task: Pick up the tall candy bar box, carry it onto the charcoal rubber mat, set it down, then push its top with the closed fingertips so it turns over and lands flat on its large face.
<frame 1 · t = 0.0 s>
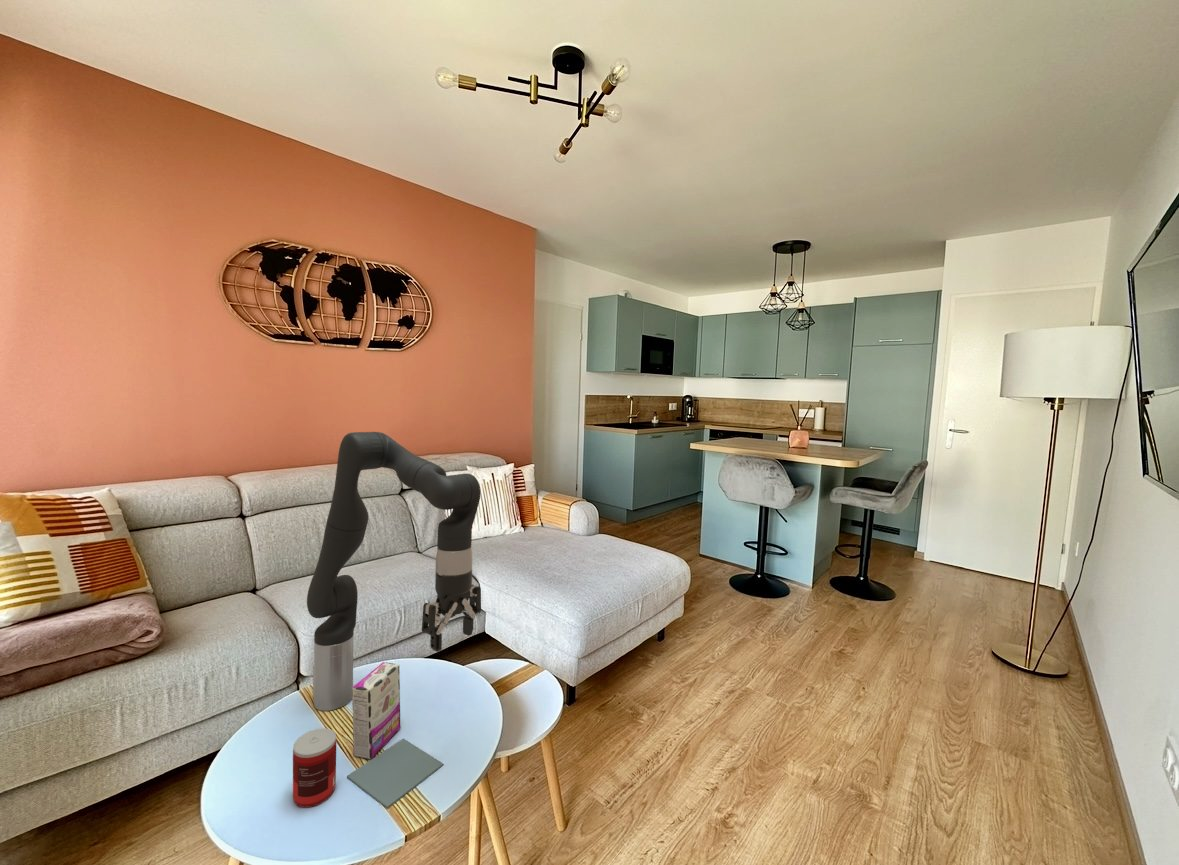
hand: (452, 642, 101), 29 cm above the table, fingers open, 8 cm apart
canned food: (314, 793, 97), on the table
candy bar box: (377, 743, 112), on the table
mat: (396, 771, 103), on the table
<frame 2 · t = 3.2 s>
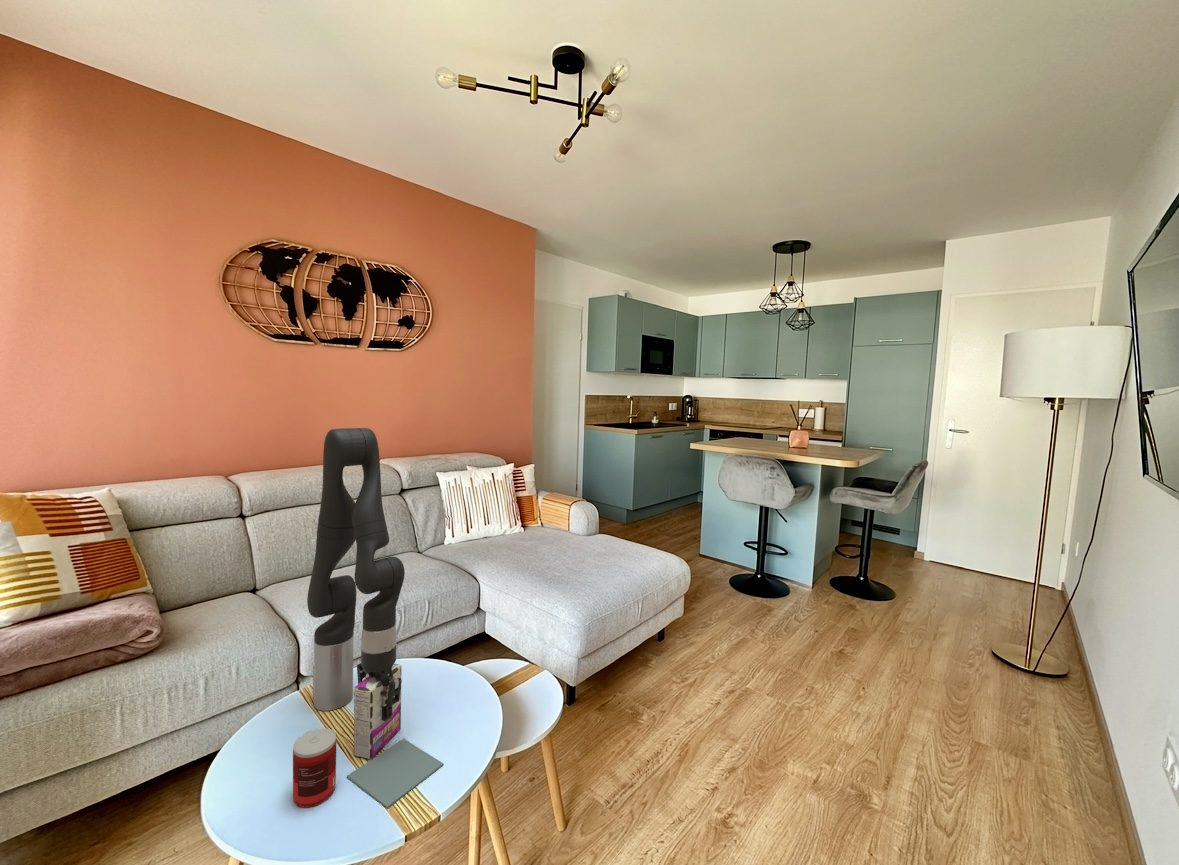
hand: (378, 713, 111), 7 cm above the table, fingers closed on candy bar box, 6 cm apart
candy bar box: (377, 743, 112), on the table, touching gripper
everything else where it was.
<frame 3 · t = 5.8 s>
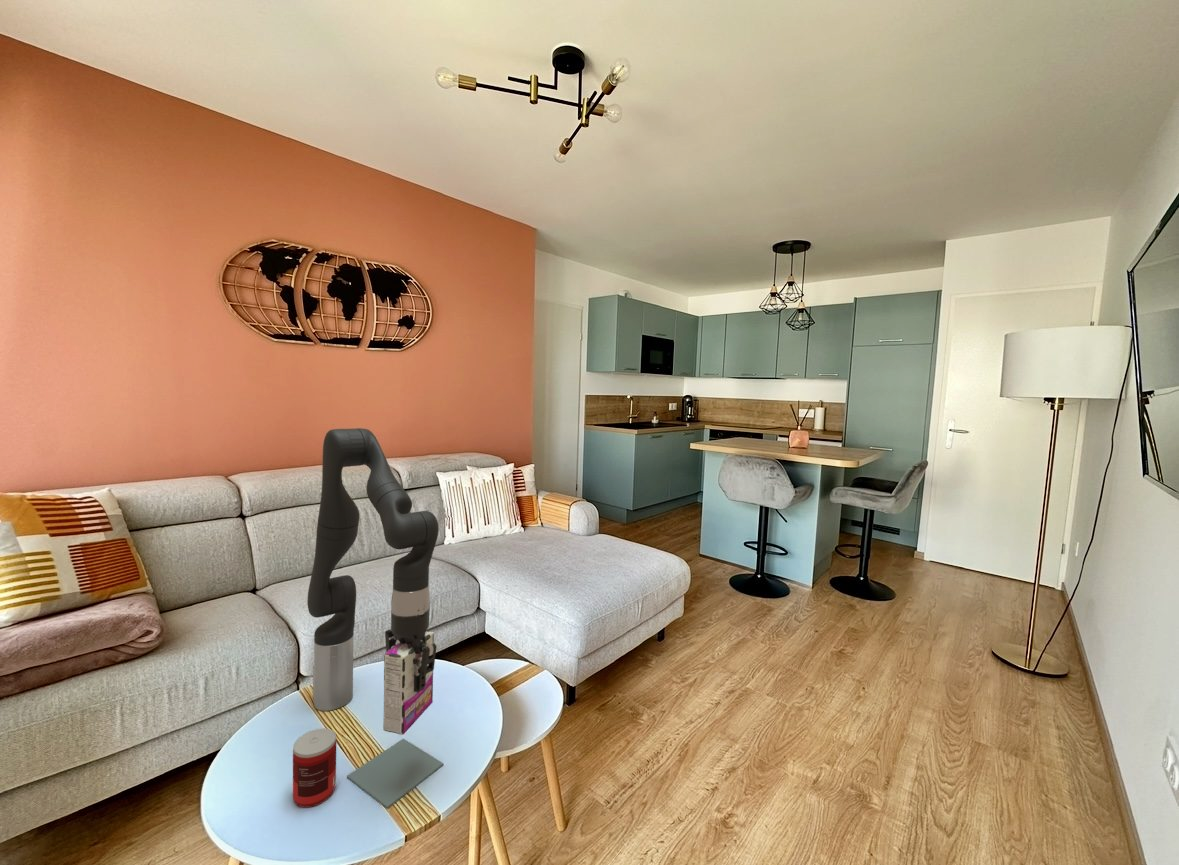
hand: (409, 684, 100), 21 cm above the table, fingers closed on candy bar box, 6 cm apart
candy bar box: (408, 717, 100), point 13 cm above the table, touching gripper
everything else where it was.
when the fingers open (8 cm above the table, at t = 8.6 s): candy bar box stays where it is, resting on mat.
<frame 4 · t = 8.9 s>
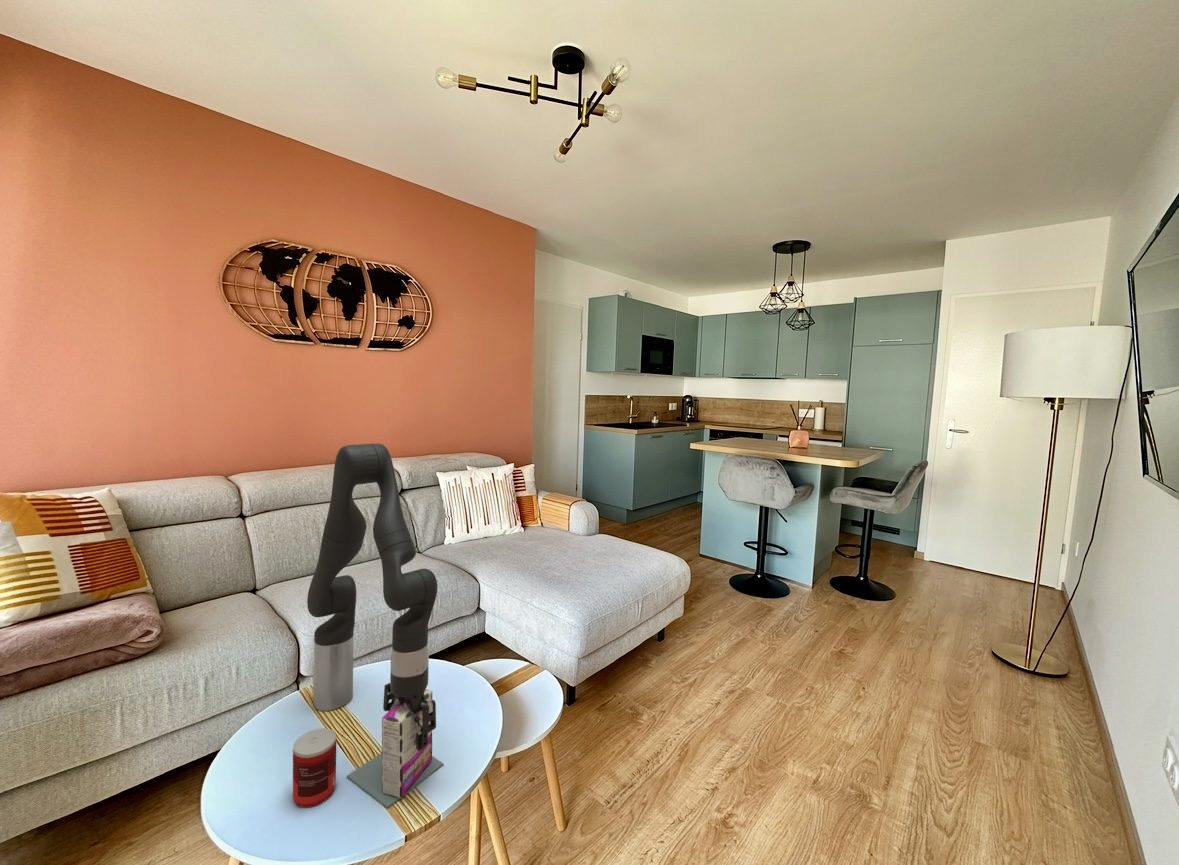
hand: (408, 739, 100), 9 cm above the table, fingers open, 8 cm apart
candy bar box: (407, 777, 101), resting on mat
everything else where it was.
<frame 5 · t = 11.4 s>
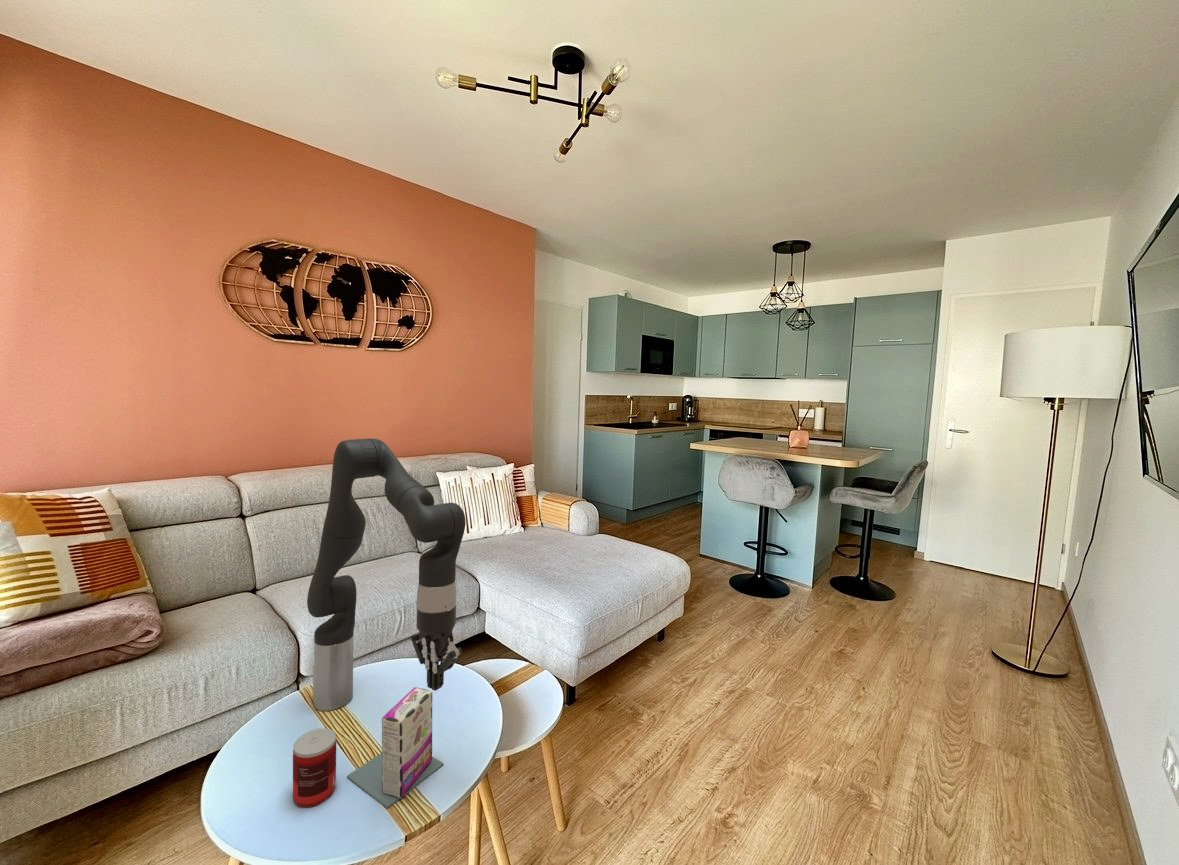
hand: (435, 687, 96), 23 cm above the table, fingers closed
nothing on the table moved.
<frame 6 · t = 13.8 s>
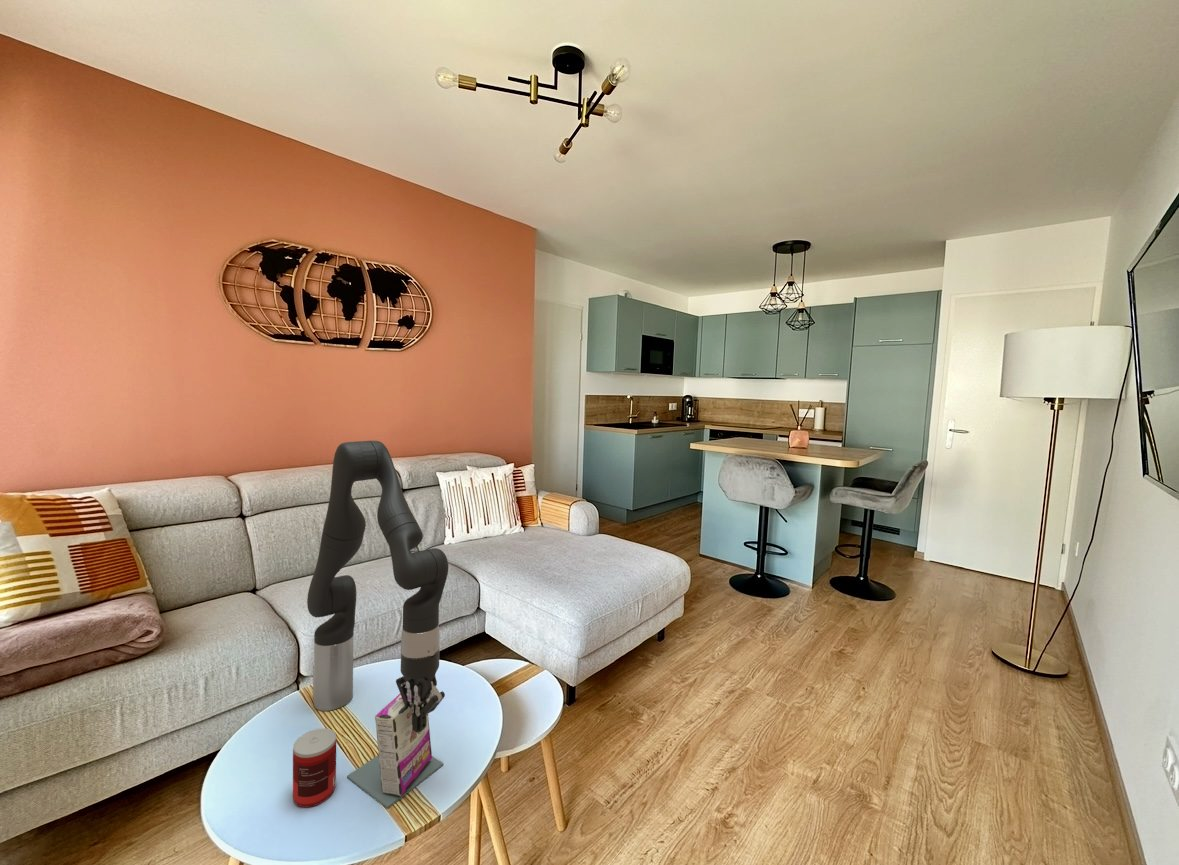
hand: (419, 729, 98), 13 cm above the table, fingers closed
candy bar box: (407, 776, 101), resting on mat, touching gripper, hand
everything else where it was.
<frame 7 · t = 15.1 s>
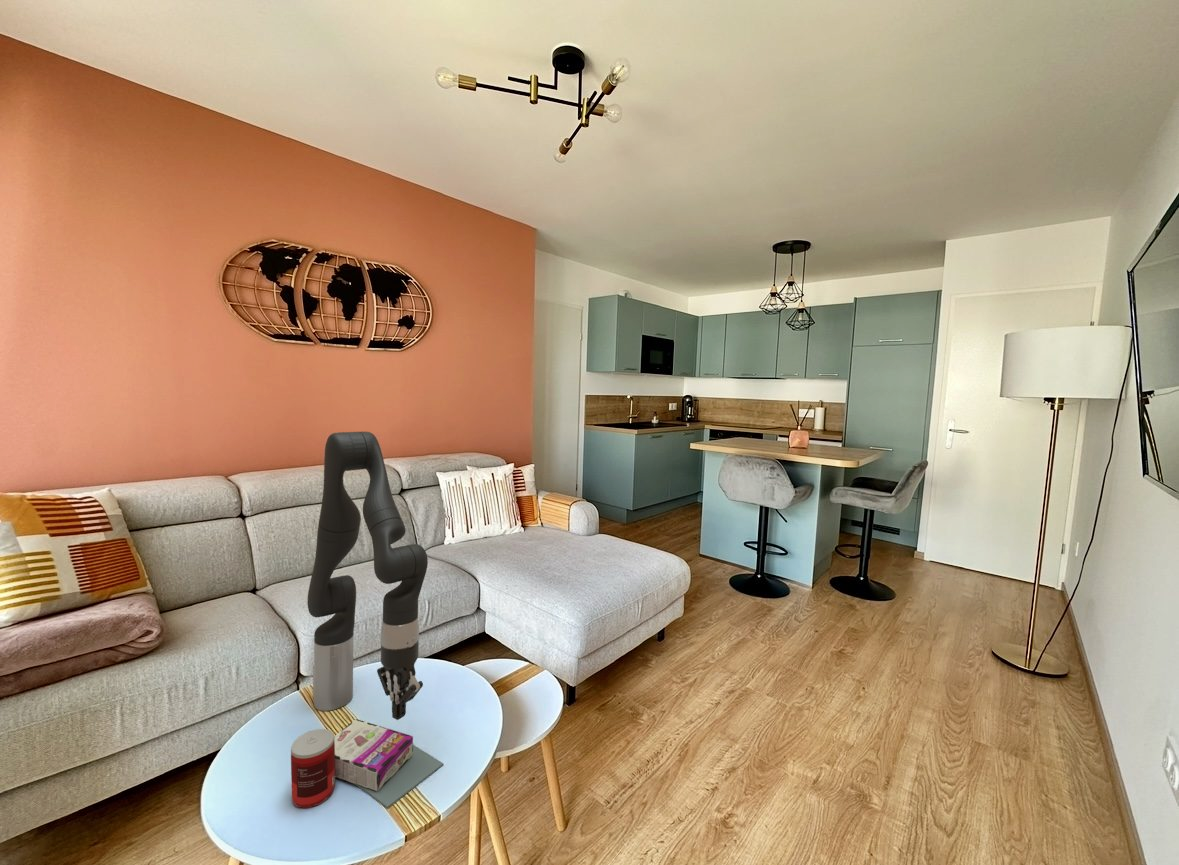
hand: (398, 717, 102), 12 cm above the table, fingers closed
candy bar box: (397, 764, 101), point 3 cm above the table, touching mat
everything else where it was.
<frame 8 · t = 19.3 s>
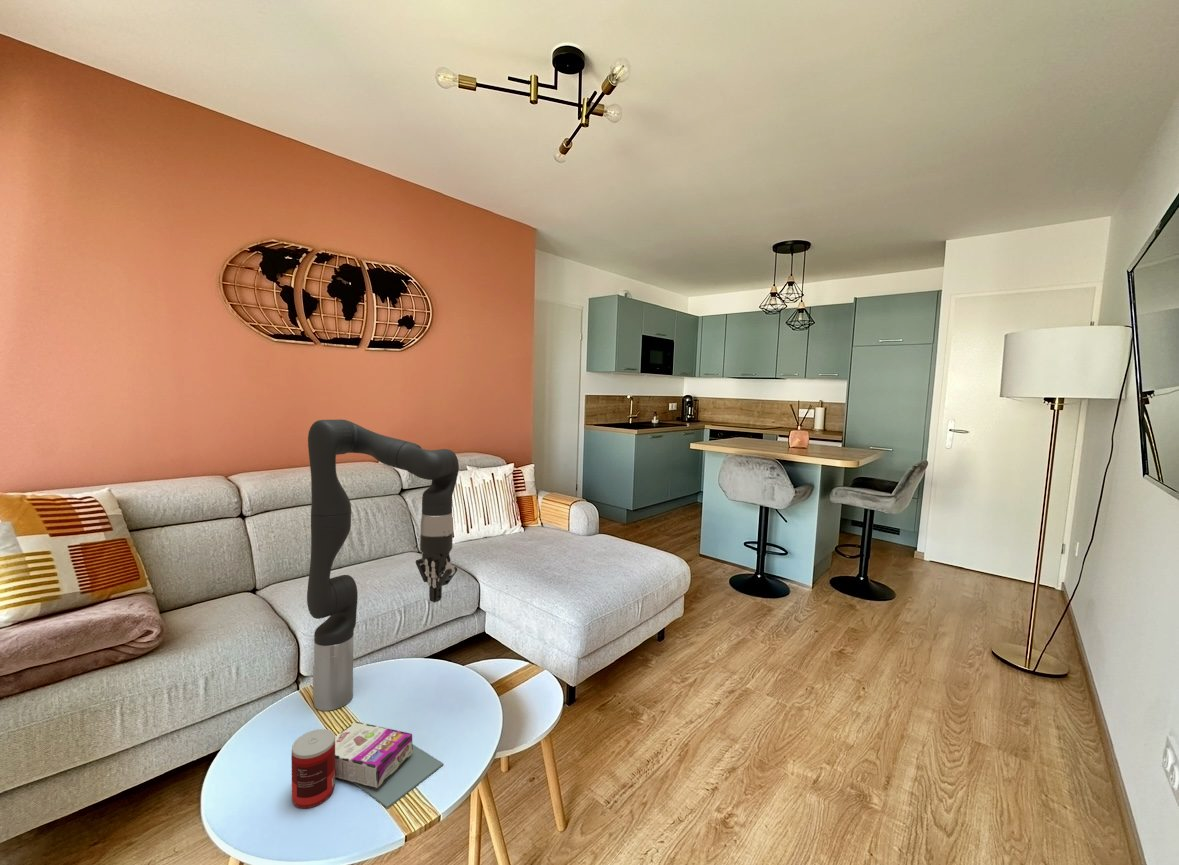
hand: (435, 600, 116), 32 cm above the table, fingers closed
candy bar box: (396, 761, 102), point 3 cm above the table, touching mat
everything else where it was.
at the end: candy bar box tilted 93°; candy bar box inside the target area (6.2 cm from its centre), point 3.3 cm above the table; the gripper is holding nothing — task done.
